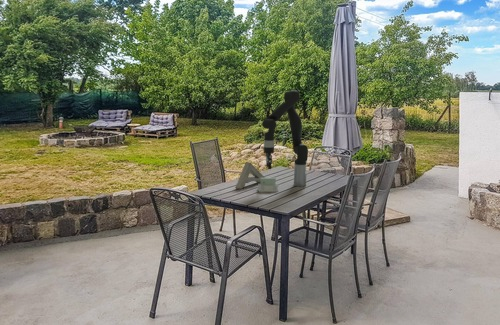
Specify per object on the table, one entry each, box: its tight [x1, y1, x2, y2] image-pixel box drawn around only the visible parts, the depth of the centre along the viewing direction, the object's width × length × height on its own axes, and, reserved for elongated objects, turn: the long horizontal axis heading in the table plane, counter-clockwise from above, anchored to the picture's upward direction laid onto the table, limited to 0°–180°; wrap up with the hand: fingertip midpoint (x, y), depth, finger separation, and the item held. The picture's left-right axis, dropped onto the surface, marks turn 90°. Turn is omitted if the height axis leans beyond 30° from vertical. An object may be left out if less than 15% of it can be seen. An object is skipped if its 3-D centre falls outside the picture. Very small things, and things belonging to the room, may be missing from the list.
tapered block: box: [260, 177, 277, 185], centre depth 283 cm, size 11×3×8 cm, turn 96°
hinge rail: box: [257, 183, 279, 193], centre depth 284 cm, size 14×8×5 cm, turn 96°
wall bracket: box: [235, 161, 266, 190], centre depth 301 cm, size 22×4×30 cm
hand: (268, 168), depth 281 cm, fingers open, 8 cm apart
